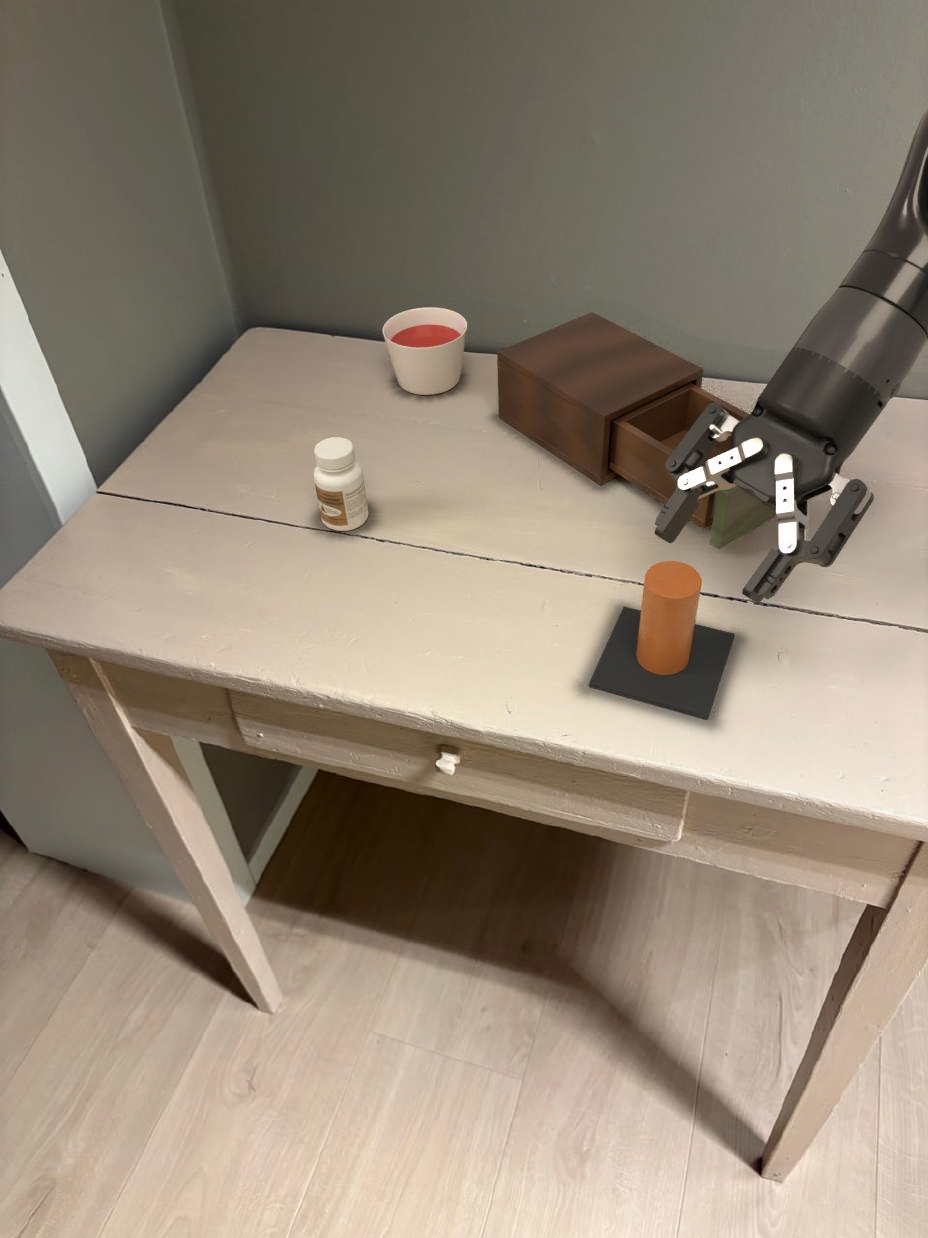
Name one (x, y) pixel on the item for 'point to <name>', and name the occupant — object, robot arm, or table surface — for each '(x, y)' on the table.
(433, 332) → the candle
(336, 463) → the pill bottle
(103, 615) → the table surface
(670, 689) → the mat
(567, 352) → the cabinet
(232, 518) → the table surface
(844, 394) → the robot arm
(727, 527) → the drawer
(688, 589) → the spice tin
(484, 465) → the table surface
